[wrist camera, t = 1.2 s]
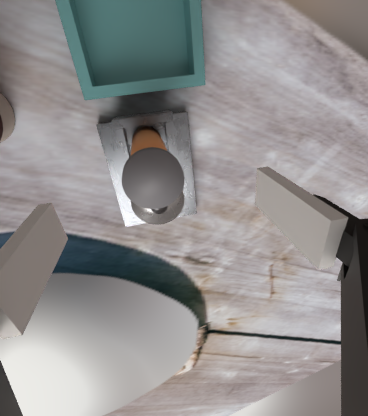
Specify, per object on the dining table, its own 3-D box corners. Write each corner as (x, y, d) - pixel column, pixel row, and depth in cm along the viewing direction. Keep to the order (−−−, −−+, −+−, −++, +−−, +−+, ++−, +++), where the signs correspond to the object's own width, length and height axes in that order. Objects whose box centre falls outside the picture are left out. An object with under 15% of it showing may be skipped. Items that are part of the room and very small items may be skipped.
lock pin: (133, 161, 32) (129, 213, 19) (124, 125, 29) (114, 156, 16) (167, 156, 32) (187, 203, 19) (162, 119, 30) (180, 145, 17)
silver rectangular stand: (126, 222, 38) (124, 239, 34) (96, 118, 30) (89, 124, 25) (194, 209, 39) (201, 224, 35) (184, 106, 31) (192, 109, 27)
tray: (91, 98, 29) (84, 100, 25) (46, -62, 22) (28, -90, 18) (197, 85, 30) (205, 84, 27) (187, -69, 23) (195, -96, 20)
